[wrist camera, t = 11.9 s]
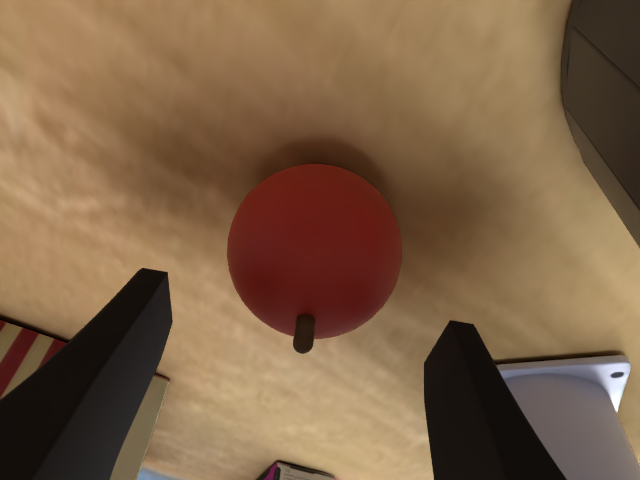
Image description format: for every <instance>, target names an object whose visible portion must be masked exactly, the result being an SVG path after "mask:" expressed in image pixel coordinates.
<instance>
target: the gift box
mask: <svg viewBox="0 0 640 480" xmlns="http://www.w3.org/2000/svg"><path fill="white" fill-rule="evenodd" d="M66 344H67V343H65V342H62V341H59V340H57V339H54V338H51V337H48V336H45V335H42V334H40V333H37V332H34V331H31V330H28V329H25V328H22V327H19V326H16V325H13V324H10V323H7V322H4V321H2V320H0V399H1V398H3V397H4V396H5V395H6V394H8V393H9V392H10V391H12V390H13V389H14V388H15V387H17V386H18V385H19V384H20V383H22V382H23V381H24V380H25V379H26V378H28V377H29V376H30V375H31V374H32V373H34V372H35V371H36V370H37V369H38V368H39V367H41V366H42V365H43V364H44V363H45V362H46V361H47V360H49V359H50V358H51V357H52V356H53V355H54V354H55V353H56V352H58V351H59V350H60V349H61V348H62V347H63V346H64V345H66ZM169 384H170V380H169V379H167V378H164V377H162V376H159V375H156V374H154V376H153V378H152V380H151V383H150V385H149V387H148V389H147V392H146V394H145V396H144V398H143V401H142V403H141V405H140V407H139V409H138V412H137V414H136V416H135V418H134V421H133V423H132V425H131V427H130V430H129V432H128V434H127V436H126V438H125V441H124V443H123V445H122V448H121V450H120V453H119V455H118V458H117V460H116V463H115V466H114V469H113V472H112V475H111V477H110V480H137V478H138V475H139V472H140V469H141V466H142V463H143V460H144V457H145V455H146V452H147V449H148V446H149V443H150V440H151V437H152V434H153V431H154V428H155V425H156V422H157V419H158V416H159V413H160V410H161V407H162V403H163V400H164V397H165V394H166V391H167V388H168V385H169Z"/></svg>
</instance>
